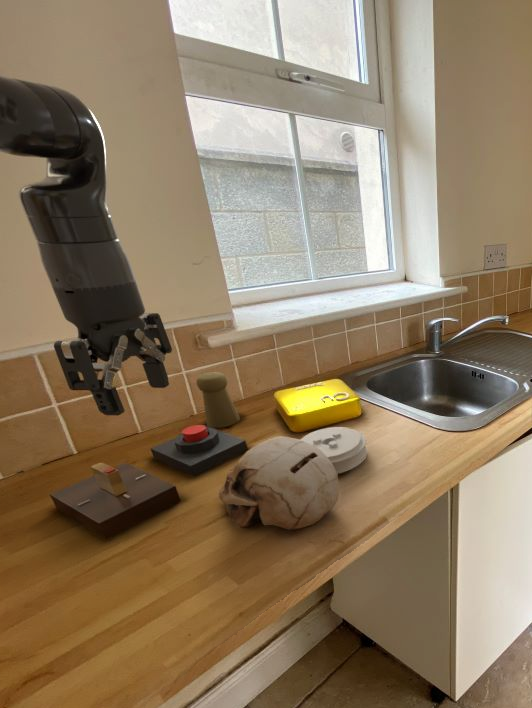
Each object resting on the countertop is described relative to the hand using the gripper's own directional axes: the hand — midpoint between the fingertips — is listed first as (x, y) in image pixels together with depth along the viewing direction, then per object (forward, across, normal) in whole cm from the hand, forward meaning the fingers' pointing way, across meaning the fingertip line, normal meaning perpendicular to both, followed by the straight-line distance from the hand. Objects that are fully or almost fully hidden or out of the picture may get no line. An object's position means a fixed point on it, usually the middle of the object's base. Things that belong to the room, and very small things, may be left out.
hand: (138, 399), depth 61 cm
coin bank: (+20, -1, +14) cm, 25 cm away
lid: (+20, -16, +18) cm, 31 cm away
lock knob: (+17, -3, -11) cm, 20 cm away
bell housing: (+20, -18, -7) cm, 28 cm away
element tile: (+20, -36, +8) cm, 42 cm away
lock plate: (+20, -3, -11) cm, 23 cm away
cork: (+20, -31, -10) cm, 38 cm away
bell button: (+16, -18, -7) cm, 25 cm away
